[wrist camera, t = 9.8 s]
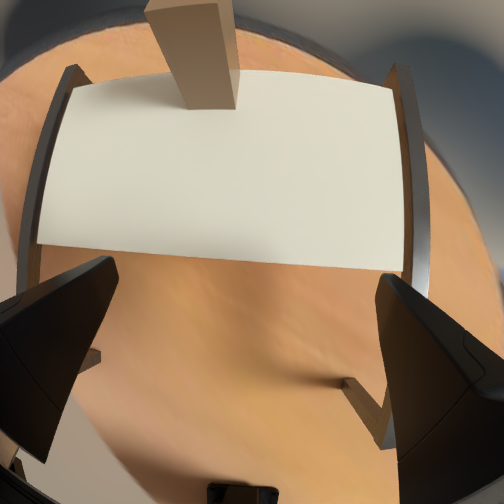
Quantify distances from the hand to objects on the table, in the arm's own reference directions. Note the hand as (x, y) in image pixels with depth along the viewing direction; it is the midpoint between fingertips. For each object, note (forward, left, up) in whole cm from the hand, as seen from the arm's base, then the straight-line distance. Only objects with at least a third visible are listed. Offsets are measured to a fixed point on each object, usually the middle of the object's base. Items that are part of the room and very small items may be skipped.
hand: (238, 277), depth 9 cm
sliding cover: (+6, +2, -4) cm, 7 cm away
